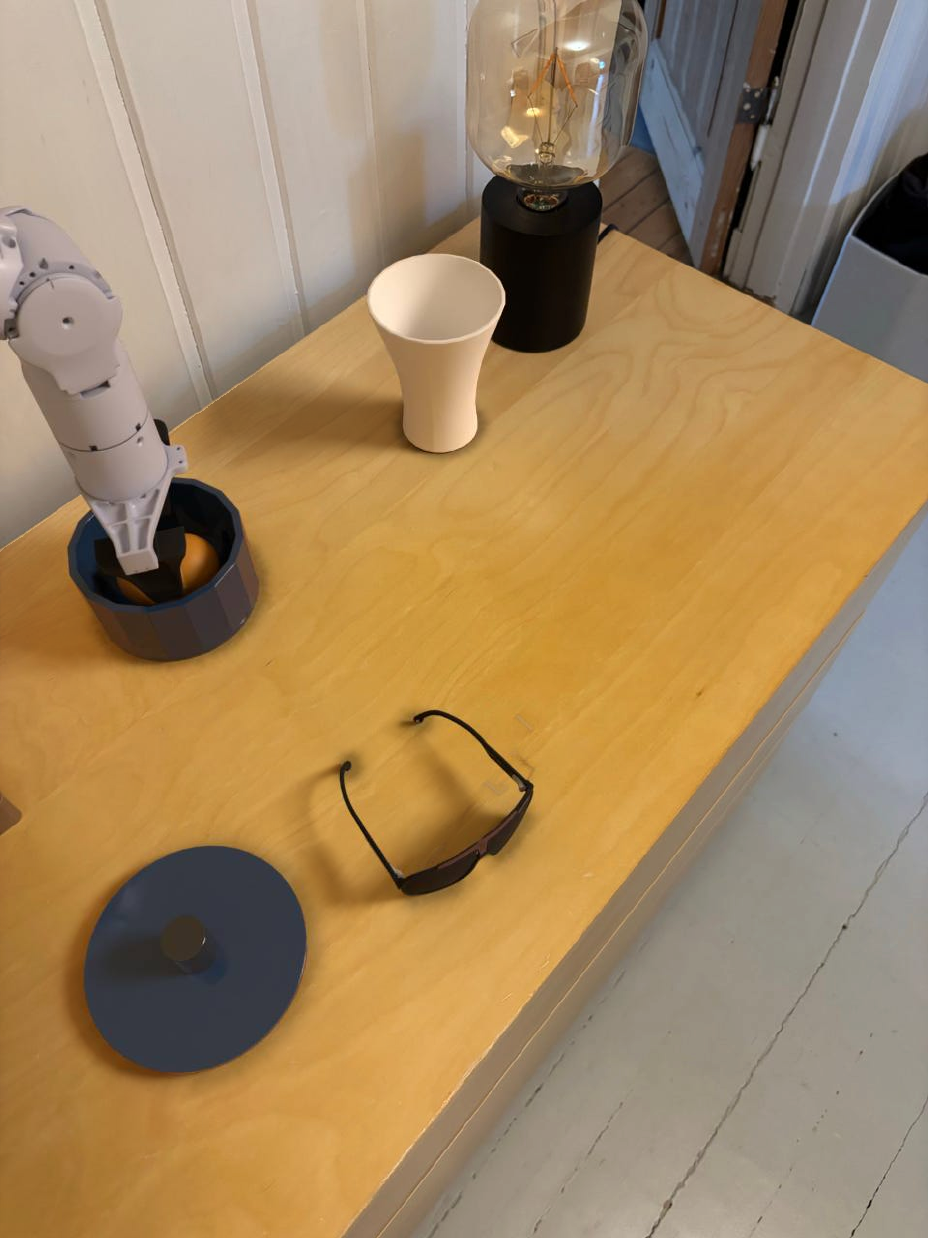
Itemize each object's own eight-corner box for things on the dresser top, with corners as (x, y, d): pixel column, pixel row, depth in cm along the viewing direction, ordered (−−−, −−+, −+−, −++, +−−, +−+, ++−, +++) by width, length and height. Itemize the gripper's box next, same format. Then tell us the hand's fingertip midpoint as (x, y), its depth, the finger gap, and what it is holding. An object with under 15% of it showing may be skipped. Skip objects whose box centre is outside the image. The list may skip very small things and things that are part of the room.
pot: (104, 679, 68) (72, 631, 62) (92, 550, 74) (63, 496, 69) (271, 639, 70) (255, 588, 64) (245, 517, 76) (228, 462, 71)
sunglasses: (419, 929, 58) (409, 896, 54) (321, 794, 64) (305, 757, 60) (551, 830, 61) (550, 793, 57) (444, 712, 68) (438, 672, 64)
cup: (507, 390, 84) (513, 259, 73) (491, 477, 78) (495, 349, 67) (392, 378, 85) (381, 247, 74) (369, 463, 79) (352, 335, 68)
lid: (98, 1107, 53) (71, 1097, 49) (82, 883, 60) (58, 861, 56) (328, 1035, 55) (319, 1021, 51) (287, 827, 62) (276, 802, 58)
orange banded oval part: (131, 627, 70) (110, 589, 65) (125, 575, 72) (104, 535, 68) (230, 604, 71) (215, 565, 67) (221, 553, 73) (206, 512, 69)
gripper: (181, 490, 53) (232, 621, 64) (154, 327, 61) (203, 470, 72) (54, 518, 52) (128, 646, 63) (42, 348, 60) (110, 489, 71)
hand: (162, 553), depth 68 cm, fingers open, 7 cm apart
